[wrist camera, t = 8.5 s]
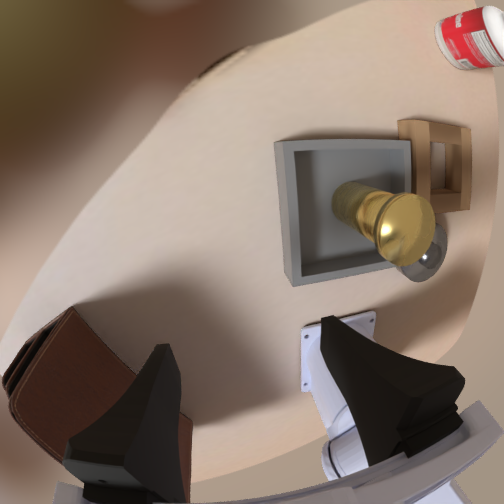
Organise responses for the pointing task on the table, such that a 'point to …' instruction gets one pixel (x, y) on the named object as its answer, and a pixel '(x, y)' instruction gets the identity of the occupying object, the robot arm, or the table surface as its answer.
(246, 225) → the table surface
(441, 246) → the pulley
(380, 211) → the lock pin
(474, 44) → the pill bottle
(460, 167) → the block
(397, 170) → the tray
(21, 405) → the letter holder
